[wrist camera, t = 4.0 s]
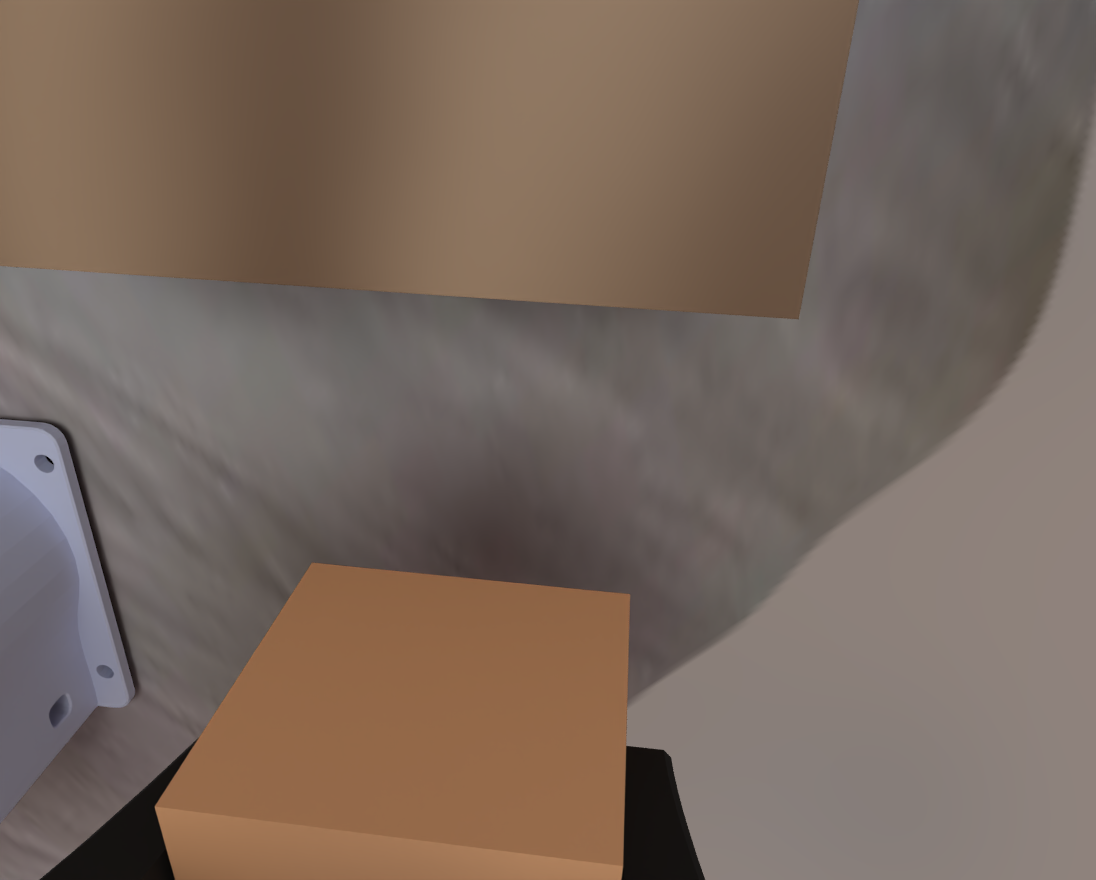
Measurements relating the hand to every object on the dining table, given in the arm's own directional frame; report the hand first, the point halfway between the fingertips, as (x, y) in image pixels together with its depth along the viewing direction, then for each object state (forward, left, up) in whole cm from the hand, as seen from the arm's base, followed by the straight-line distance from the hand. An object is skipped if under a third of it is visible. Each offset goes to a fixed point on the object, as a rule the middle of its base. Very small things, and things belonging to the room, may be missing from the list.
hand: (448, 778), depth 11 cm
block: (0, 0, -2) cm, 2 cm away
